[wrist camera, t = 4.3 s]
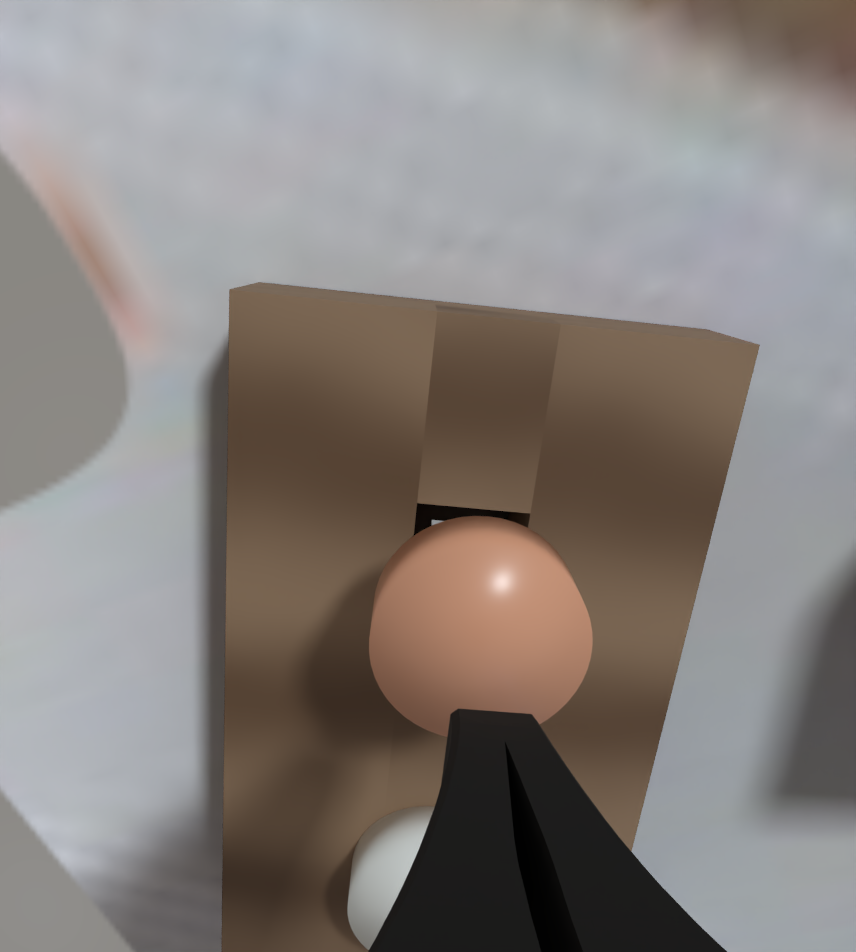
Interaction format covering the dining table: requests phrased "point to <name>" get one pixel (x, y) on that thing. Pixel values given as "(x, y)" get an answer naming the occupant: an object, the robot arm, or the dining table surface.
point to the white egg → (383, 868)
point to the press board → (392, 524)
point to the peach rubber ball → (478, 624)
